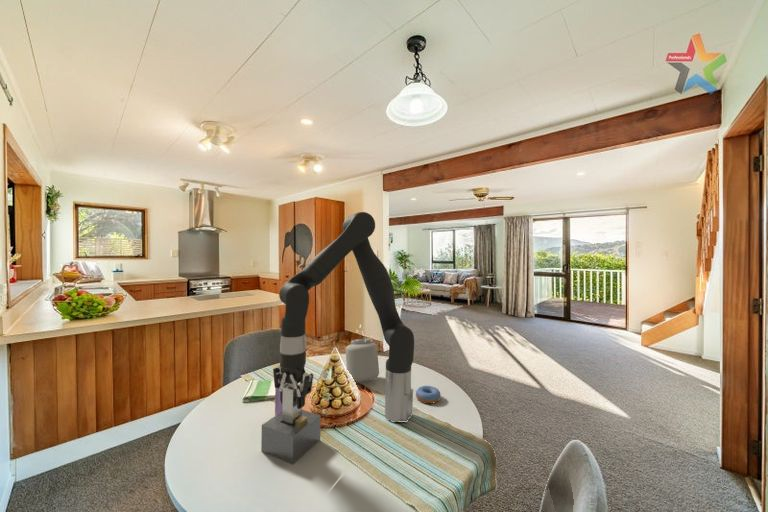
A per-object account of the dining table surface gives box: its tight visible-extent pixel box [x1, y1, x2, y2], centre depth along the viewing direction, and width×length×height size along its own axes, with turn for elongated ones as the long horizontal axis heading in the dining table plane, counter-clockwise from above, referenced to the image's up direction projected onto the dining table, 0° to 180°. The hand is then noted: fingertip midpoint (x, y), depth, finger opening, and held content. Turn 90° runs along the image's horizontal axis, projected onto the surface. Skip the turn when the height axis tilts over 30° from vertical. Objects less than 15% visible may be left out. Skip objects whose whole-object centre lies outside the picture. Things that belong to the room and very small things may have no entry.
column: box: [282, 384, 303, 426], centre depth 89 cm, size 4×4×18 cm
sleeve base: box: [260, 409, 322, 466], centre depth 89 cm, size 12×12×9 cm
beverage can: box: [274, 379, 290, 417], centre depth 106 cm, size 6×6×15 cm
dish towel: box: [241, 379, 300, 403], centre depth 125 cm, size 18×23×3 cm
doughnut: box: [415, 385, 442, 404], centre depth 120 cm, size 10×10×5 cm
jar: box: [345, 324, 380, 383], centre depth 138 cm, size 19×15×25 cm
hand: (292, 404), depth 89 cm, fingers open, 5 cm apart
